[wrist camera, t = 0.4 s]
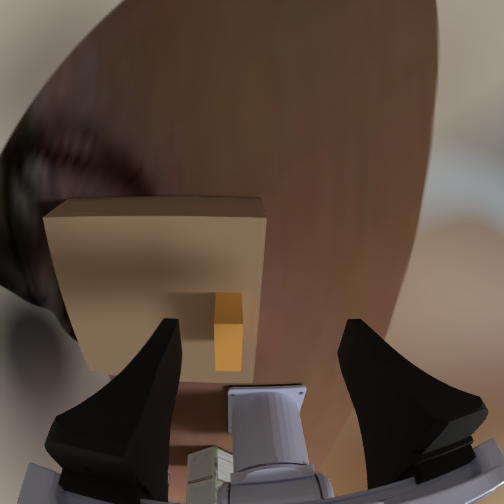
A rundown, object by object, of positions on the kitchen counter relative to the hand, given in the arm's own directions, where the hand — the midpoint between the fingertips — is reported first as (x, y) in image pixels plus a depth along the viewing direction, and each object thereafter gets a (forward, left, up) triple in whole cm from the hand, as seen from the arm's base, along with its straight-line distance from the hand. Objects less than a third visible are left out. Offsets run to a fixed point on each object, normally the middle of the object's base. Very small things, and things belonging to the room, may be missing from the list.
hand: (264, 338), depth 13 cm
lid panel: (-4, +7, -7) cm, 10 cm away
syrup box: (-34, +4, -10) cm, 36 cm away
